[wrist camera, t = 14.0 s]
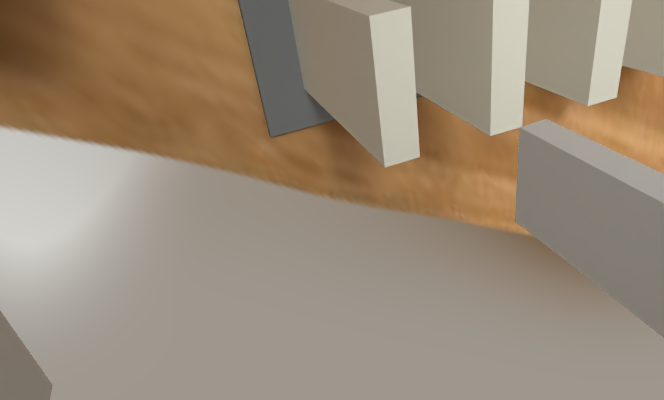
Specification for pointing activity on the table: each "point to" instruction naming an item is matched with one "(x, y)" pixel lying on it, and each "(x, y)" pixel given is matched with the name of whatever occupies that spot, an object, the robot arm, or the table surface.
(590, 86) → the domino
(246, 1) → the mat
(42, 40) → the table surface
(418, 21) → the domino
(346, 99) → the domino
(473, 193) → the table surface
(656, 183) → the robot arm
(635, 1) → the domino
